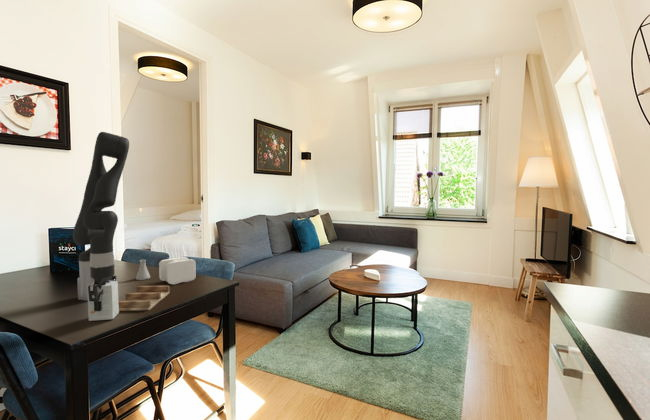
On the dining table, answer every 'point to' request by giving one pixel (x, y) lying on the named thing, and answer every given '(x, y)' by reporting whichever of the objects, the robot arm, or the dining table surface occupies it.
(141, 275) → the flask
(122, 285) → the dining table surface
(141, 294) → the slot rack
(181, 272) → the cable organizer
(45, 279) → the dining table surface
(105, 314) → the small box
